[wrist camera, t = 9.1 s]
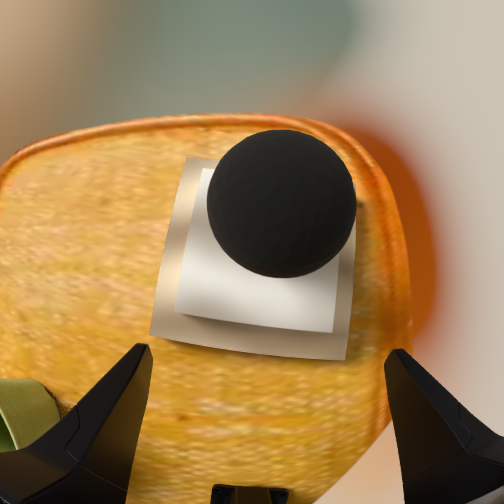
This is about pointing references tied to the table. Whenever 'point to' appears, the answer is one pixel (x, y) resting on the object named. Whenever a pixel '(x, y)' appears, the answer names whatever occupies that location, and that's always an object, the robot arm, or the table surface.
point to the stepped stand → (245, 289)
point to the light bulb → (281, 204)
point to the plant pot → (24, 413)
